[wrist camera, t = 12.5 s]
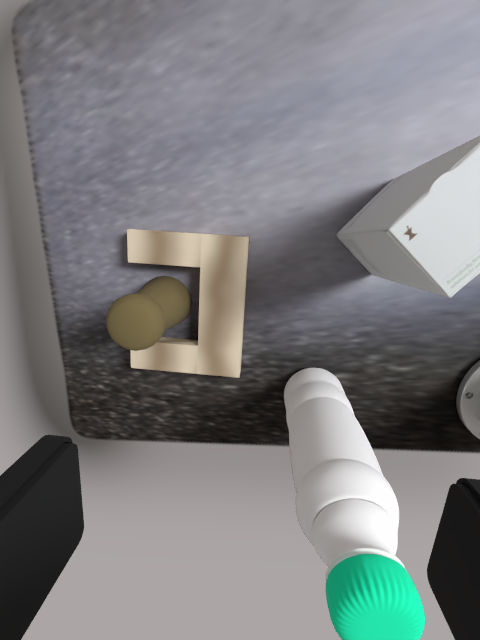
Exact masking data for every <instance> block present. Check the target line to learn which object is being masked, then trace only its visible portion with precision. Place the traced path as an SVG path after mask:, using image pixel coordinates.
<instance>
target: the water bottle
mask: <svg viewBox="0 0 480 640" xmlns="http://www.w3.org/2000/svg"><path fill="white" fill-rule="evenodd" d="M284 403H285V408H286V420H287V425H288V429H289V445H290V455H291V465H292V471H293V478H294V484H295V488H296V493H297V495H296V512H297V517H298V520H299V523H300V526H301V528H302V530H303V532H304V534H305V535H306V537H307V538H308V539H309V541H310V542H311V543H312V545H313V546H314V547H315V549H316V551H317V553H318V555H319V556H320V558H321V559H322V560H323V561H324V562H325V563H326V565H327V566H328V569H327V572H326V597H327V603H328V608H329V612H330V617H331V620H332V623H333V625H334V628H335V630H336V632H337V633H338V634H339V636H340V637H341V639H342V640H418V639H419V638H420V637H421V635H422V633H423V631H424V625H425V614H424V609H423V606H422V602H421V599H420V596H419V594H418V591H417V589H416V587H415V585H414V583H413V581H412V579H411V577H410V575H409V574H408V573H407V571H406V569H405V567H404V565H403V564H402V562H401V561H400V560H399V559H398V558H397V557H396V556H395V554H396V550H397V544H398V537H397V532H398V524H399V508H398V503H397V499H396V496H395V494H394V492H393V490H392V488H391V486H390V484H389V483H388V481H387V480H386V479H385V478H384V476H383V474H382V471H381V468H380V466H379V463H378V461H377V458H376V456H375V454H374V452H373V449H372V447H371V445H370V443H369V441H368V439H367V437H366V435H365V433H364V431H363V429H362V427H361V426H360V424H359V422H358V421H357V419H356V417H355V416H354V412H353V409H352V407H351V404H350V402H349V401H348V399H347V397H346V396H345V393H344V390H343V388H342V385H341V384H340V382H339V380H338V379H337V378H336V377H335V376H334V375H333V374H332V373H330V372H329V371H327V370H324V369H321V368H306V369H303V370H300V371H298V372H297V373H295V374H294V375H293V376H292V377H291V378H290V379H289V380H288V382H287V384H286V386H285V389H284Z"/></svg>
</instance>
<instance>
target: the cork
mask: <svg viewBox="0 0 480 640" xmlns="http://www.w3.org/2000/svg"><path fill="white" fill-rule="evenodd" d="M190 310H191V297H190V293H189V291H188V289H187V288H186V286H185V285H184V284H183V283H182V282H181V281H179V280H177V279H175V278H173V277H169V276H160V277H156V278H154V279H152V280H150V281H149V282H148V283H147V284H146V285H145V286H144V287H143V288H142V289H141V290H140V291H139V292H138V293H137V294H136V293H135V294H128V295H125V296H123V297H121V298H119V299H117V300H116V301H115V302H114V303H113V304H112V306H111V307H110V308H109V311H108V313H107V316H106V326H107V329H108V333H109V334H110V336H111V338H112V339H113V340H114V341H115V342H116V343H117V344H118V345H119V346H121V347H123V348H125V349H128V350H134V351H138V350H144V349H147V348H149V347H151V346H153V345H154V344H155V343H156V342H157V341H158V340H159V339H160V338H161V337H162V335H163V333H164V330H166V329H168V328H170V327H172V326H174V325H176V324H178V323H180V322H182V321H183V320H184V319H185V318H186V317H187V316H188V314H189V312H190Z"/></svg>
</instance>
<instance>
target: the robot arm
mask: <svg viewBox="0 0 480 640" xmlns="http://www.w3.org/2000/svg"><path fill="white" fill-rule="evenodd" d="M456 404H457V411H458V414H459V417H460V419H461V421H462V422H463V424H464V425H465V427H466V428H467V429H468V430H469V431H470V432H471V433H472V434H473V435H475V436H476V437H477V438H479V439H480V360H479V361H478V362H477V363H476V364H475V365H474V366H472V367H471V369H470V370H469V371H468V372H467V374H466V375H465V376H464V378H463V380H462V382H461V384H460V386H459V389H458V392H457V400H456ZM83 530H84V520H83V508H82V496H81V484H80V471H79V459H78V449H77V445H76V444H73V443H72V440H71V438H69V437H64V436H54V435H45V436H44V437H42V438H41V439H40V440H39V441H38V442H37V443H36V444H34V445H33V446H32V447H31V448H30V449H29V450H28V451H27V452H26V453H25V454H23V455H22V456H21V457H20V458H19V459H18V460H17V461H16V462H15V463H14V464H13V465H11V467H9V468H8V469H7V470H6V471H5V472H4V473H3V474H2V475H1V476H0V640H21V639H22V637H23V635H24V634H25V632H26V630H27V629H28V627H29V625H30V624H31V622H32V620H33V619H34V617H35V615H36V614H37V612H38V610H39V609H40V607H41V605H42V604H43V602H44V600H45V599H46V597H47V595H48V594H49V592H50V590H51V589H52V587H53V585H54V584H55V582H56V580H57V579H58V577H59V576H60V574H61V572H62V571H63V569H64V567H65V566H66V564H67V562H68V561H69V559H70V557H71V556H72V554H73V552H74V550H75V549H76V547H77V545H78V544H79V542H80V540H81V537H82V534H83ZM427 575H428V580H429V584H430V586H431V588H432V591H433V593H434V595H435V597H436V600H437V602H438V604H439V606H440V608H441V610H442V612H443V615H444V617H445V619H446V621H447V623H448V625H449V627H450V630H451V632H452V634H453V636H454V638H455V640H480V480H477V479H467V478H460V479H459V480H458V481H457V483H456V484H452V485H451V486H450V488H449V492H448V495H447V499H446V503H445V506H444V510H443V514H442V517H441V521H440V524H439V527H438V531H437V535H436V538H435V542H434V545H433V549H432V553H431V556H430V559H429V563H428V568H427Z"/></svg>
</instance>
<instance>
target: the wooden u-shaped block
mask: <svg viewBox="0 0 480 640" xmlns="http://www.w3.org/2000/svg"><path fill="white" fill-rule="evenodd" d="M249 238H250V237H245V236H230V235H215V234H200V233H184V232H169V231H154V230H138V229H127V247H128V262H131V263H145V264H159V265H173V266H187V267H200V292H199V326H198V340H191V339H179V338H167V337H161V338H160V339H159V340H158V341H157V342H156V343H155V344H154V345H153V346H151V347H149V348H147V349H144V350H138V351H134V350H130V352H131V368H138V369H149V370H160V371H171V372H182V373H193V374H204V375H216V376H227V377H238V378H239V376H240V371H241V356H242V341H243V327H244V312H245V297H246V282H247V268H248V253H249Z"/></svg>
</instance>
